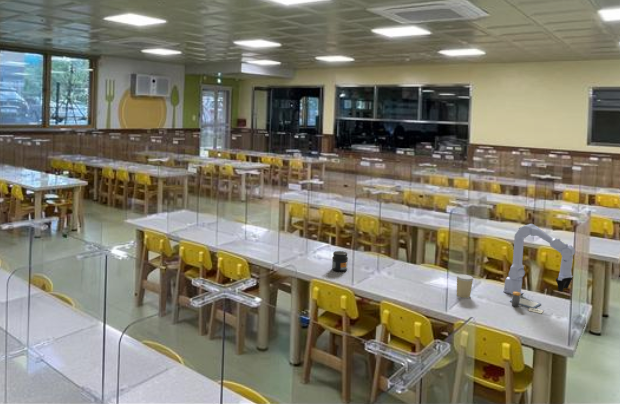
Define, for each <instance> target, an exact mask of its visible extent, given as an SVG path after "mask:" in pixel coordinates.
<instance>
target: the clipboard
mask: <svg viewBox="0 0 620 404" xmlns="http://www.w3.org/2000/svg"><path fill="white" fill-rule="evenodd" d="M509 302H510V303H512V299H511V300H510V301H509ZM541 304H542V303H540V302H536V301H534V300H533V301H532V300H530V299H525V298H524V297H523V298H522V297H520V302H519V306H523V307H525V308H526V307H527V308H529V309H530V308H535V309H537V308H538V307H539V306H541Z"/></svg>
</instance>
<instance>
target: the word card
mask: <svg viewBox="0 0 620 404" xmlns="http://www.w3.org/2000/svg"><path fill="white" fill-rule="evenodd" d="M527 311H529V312H532V313H536V314H542V313H544V310H542V309H539V308H529V309H528V310H527Z"/></svg>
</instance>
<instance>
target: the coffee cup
mask: <svg viewBox="0 0 620 404" xmlns="http://www.w3.org/2000/svg"><path fill="white" fill-rule="evenodd" d="M473 281H474V277H473V276H471V275H469V274H462V273H461V274H458V275H457V276H456V296H457V297H459V298H461V299H469V298H470V297H471V293H472V288H473Z"/></svg>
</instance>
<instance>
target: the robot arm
mask: <svg viewBox="0 0 620 404" xmlns="http://www.w3.org/2000/svg"><path fill="white" fill-rule="evenodd" d="M529 236H531V237H538V238H540V239H541V240H544V241H545V242H547V243H549V245H550V247H551V248H553V249H554V250H556V251H557V252H558V253H560V255H561V261H560V268H559V273H558V277H557V278H555V281H556V284H557V290H558V292H561V293H562V292H563V291H564V289H565V290H568V289H569V286H570V284H571V283H572V280H573V279H572V277H573V278H574V276H573V274H572V267H573V259H574V255H575V254H576V249H575V247H573V246H572V245H569V244H567V243H565V242H563V240H561V238H556V237H555V238H554V237H552V236H551V235H549V234H548V233H547V232H545V231H543V230H542V229H541V228H540V227H539V226H537V225H535V224H533V223H528V224H526V225H523V226H521V227H519V228H518V230H517V232H516V233H515V234H514V237H513V238H514V242H513V252H512V253H513V255H512V263H511V266H510V267H509V268H510V269H509V271H508V276H507V277H506V278H505V280H504V288H503V292H504V293H507V294H511V295H513V292H520V293H521V294H520V295H522V294H524V291H522V285H523V277H524V276H525V274H526V271H525V269H524V268H525V266H524V264H523V259H524V258H523V256H524V240H525V239H526V238H527V237H529Z"/></svg>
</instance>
